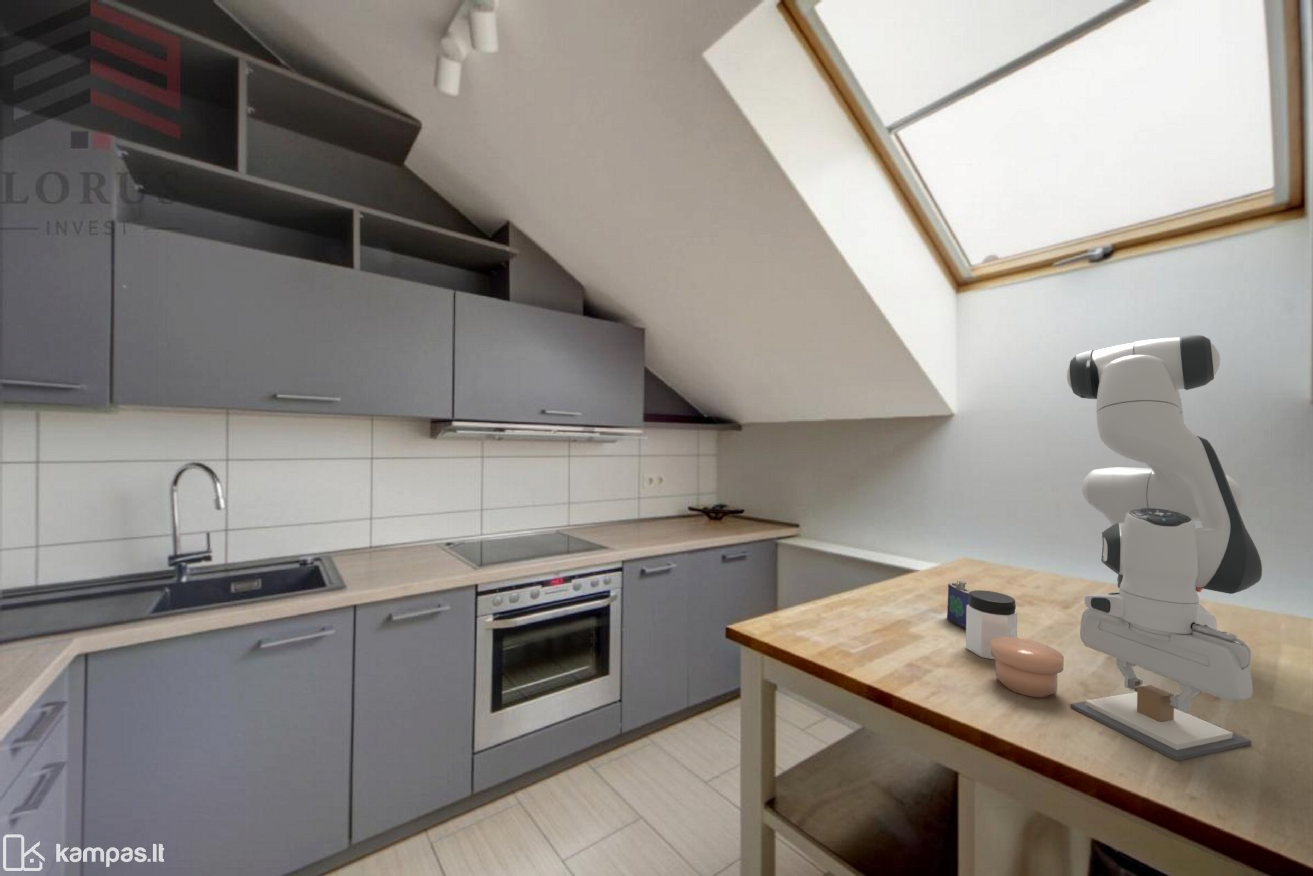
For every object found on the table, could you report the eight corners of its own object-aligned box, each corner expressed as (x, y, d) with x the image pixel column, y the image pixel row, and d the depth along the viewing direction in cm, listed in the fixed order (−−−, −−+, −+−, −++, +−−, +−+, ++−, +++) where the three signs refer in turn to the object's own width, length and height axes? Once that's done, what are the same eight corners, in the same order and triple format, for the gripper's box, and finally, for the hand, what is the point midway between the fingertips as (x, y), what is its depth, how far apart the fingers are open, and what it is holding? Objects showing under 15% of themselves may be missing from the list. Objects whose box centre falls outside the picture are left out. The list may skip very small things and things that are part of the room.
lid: (1136, 696, 85) (1137, 669, 85) (1232, 738, 74) (1233, 706, 74) (1085, 705, 82) (1085, 676, 82) (1176, 750, 71) (1177, 717, 71)
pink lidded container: (1019, 670, 96) (1020, 634, 96) (1078, 698, 85) (1079, 659, 85) (976, 676, 93) (976, 639, 93) (1031, 706, 83) (1032, 665, 83)
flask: (979, 632, 114) (980, 586, 114) (967, 632, 114) (968, 586, 114) (954, 617, 123) (954, 575, 123) (942, 618, 123) (943, 575, 123)
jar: (1003, 665, 98) (1004, 605, 98) (959, 650, 104) (960, 594, 104) (1022, 655, 103) (1023, 598, 102) (979, 641, 109) (980, 587, 109)
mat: (1138, 695, 87) (1138, 692, 87) (1251, 744, 73) (1251, 740, 73) (1070, 707, 83) (1070, 703, 83) (1176, 761, 69) (1176, 756, 69)
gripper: (1265, 637, 69) (1263, 735, 69) (1100, 591, 88) (1099, 667, 88) (1235, 641, 67) (1233, 741, 67) (1074, 593, 87) (1072, 671, 87)
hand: (1155, 699), depth 78 cm, fingers open, 5 cm apart
